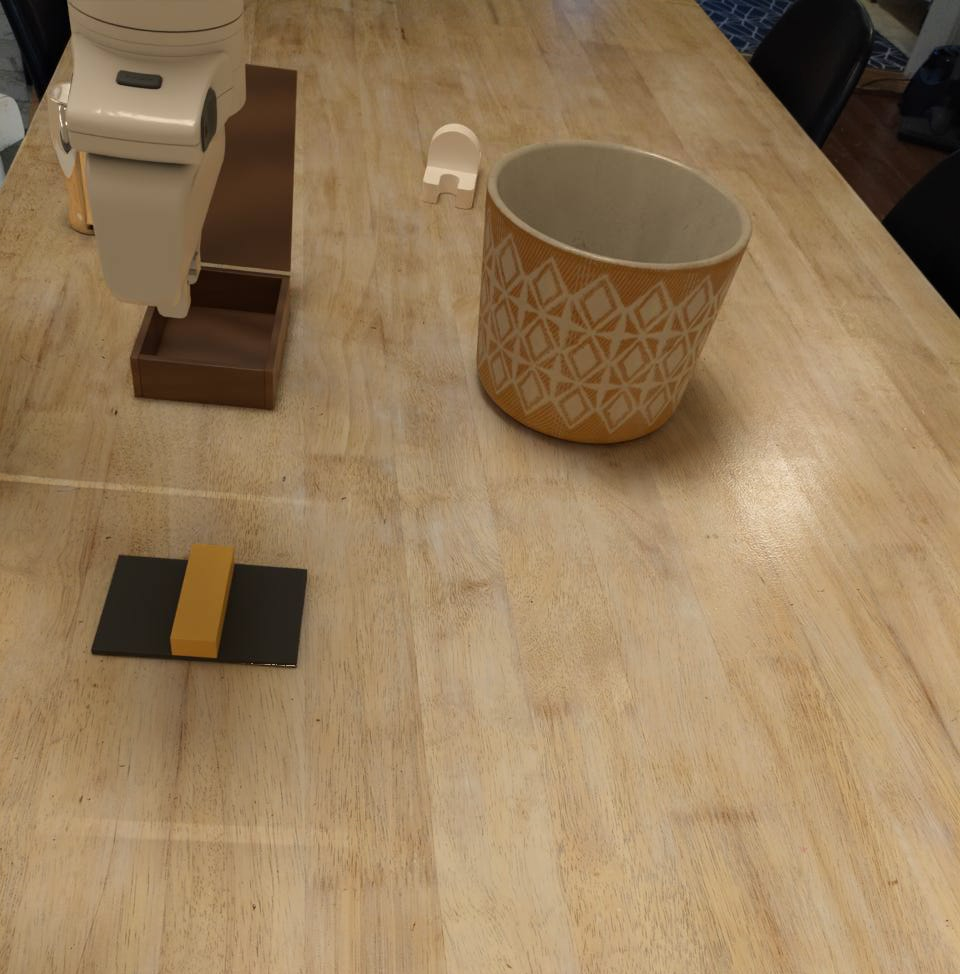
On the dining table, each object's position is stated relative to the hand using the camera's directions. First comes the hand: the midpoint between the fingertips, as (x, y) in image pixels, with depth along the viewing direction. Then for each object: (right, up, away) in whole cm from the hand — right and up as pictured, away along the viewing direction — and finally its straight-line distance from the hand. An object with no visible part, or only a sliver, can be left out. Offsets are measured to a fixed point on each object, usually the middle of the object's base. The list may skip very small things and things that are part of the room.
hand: (180, 294), depth 67 cm
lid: (-7, +27, +43) cm, 51 cm away
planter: (+30, +6, +51) cm, 59 cm away
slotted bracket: (+15, +42, +81) cm, 92 cm away
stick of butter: (-4, -19, +21) cm, 29 cm away
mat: (-4, -19, +21) cm, 29 cm away
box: (-9, +8, +46) cm, 47 cm away
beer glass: (-28, +28, +61) cm, 73 cm away
